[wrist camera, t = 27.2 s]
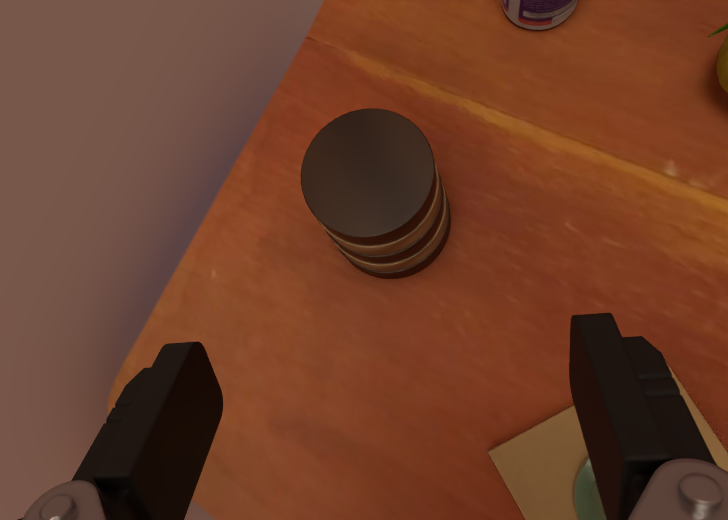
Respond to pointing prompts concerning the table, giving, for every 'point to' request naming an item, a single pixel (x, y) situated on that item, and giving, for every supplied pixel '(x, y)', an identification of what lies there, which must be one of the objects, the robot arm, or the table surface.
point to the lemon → (722, 61)
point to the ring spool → (586, 494)
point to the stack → (377, 192)
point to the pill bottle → (538, 12)
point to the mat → (563, 462)
